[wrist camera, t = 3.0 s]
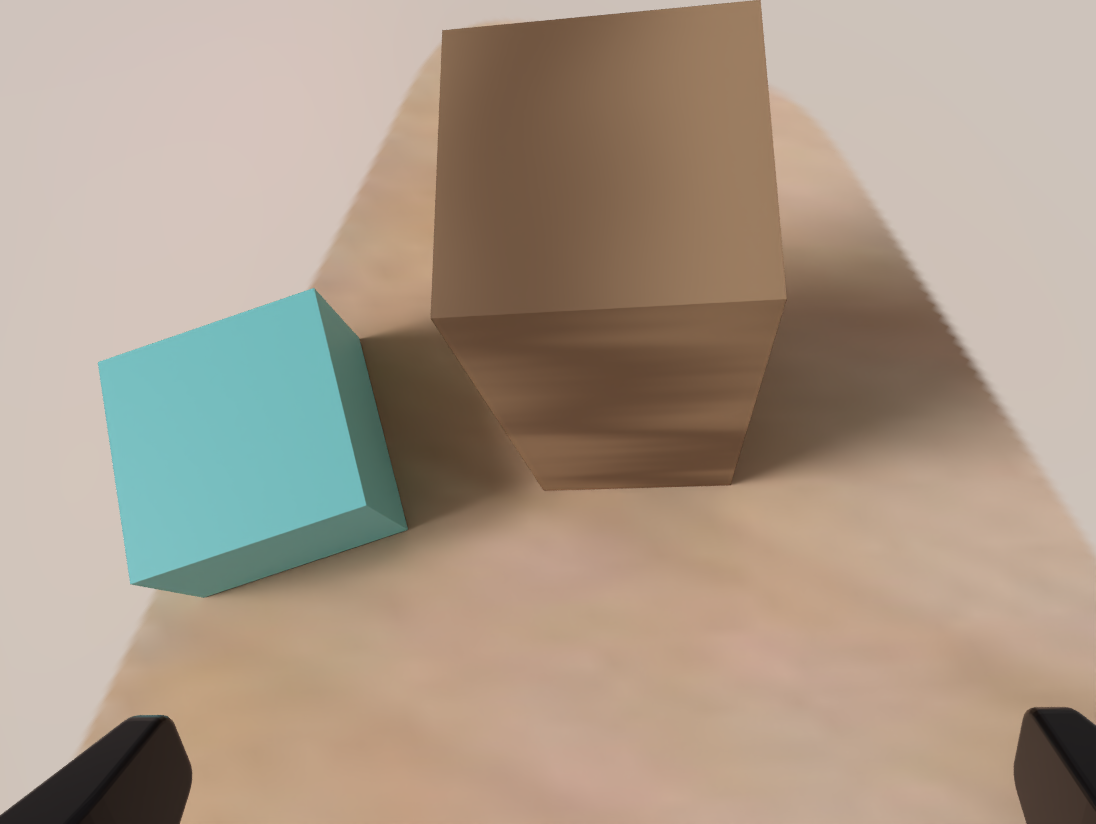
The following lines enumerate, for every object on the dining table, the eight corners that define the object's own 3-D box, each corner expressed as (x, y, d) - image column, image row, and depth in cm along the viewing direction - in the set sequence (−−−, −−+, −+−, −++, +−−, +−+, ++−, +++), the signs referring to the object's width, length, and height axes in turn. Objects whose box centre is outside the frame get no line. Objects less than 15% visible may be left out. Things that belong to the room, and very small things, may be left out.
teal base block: (359, 337, 26) (314, 288, 23) (408, 529, 24) (366, 505, 21) (170, 402, 26) (98, 362, 23) (203, 597, 24) (130, 584, 21)
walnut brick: (719, 311, 25) (760, -1, 14) (730, 485, 23) (786, 299, 12) (543, 320, 26) (442, 30, 14) (543, 490, 24) (430, 318, 13)
